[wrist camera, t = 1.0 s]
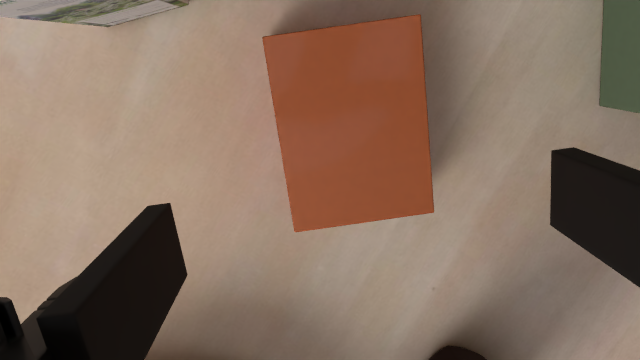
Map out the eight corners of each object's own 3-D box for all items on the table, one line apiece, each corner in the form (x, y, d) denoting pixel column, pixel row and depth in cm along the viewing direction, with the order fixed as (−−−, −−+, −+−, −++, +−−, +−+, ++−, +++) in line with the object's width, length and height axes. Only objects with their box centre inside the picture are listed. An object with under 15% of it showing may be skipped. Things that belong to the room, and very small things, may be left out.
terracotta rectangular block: (267, 38, 29) (262, 36, 25) (404, 18, 29) (420, 14, 25) (295, 212, 32) (294, 234, 28) (418, 194, 32) (434, 214, 28)
